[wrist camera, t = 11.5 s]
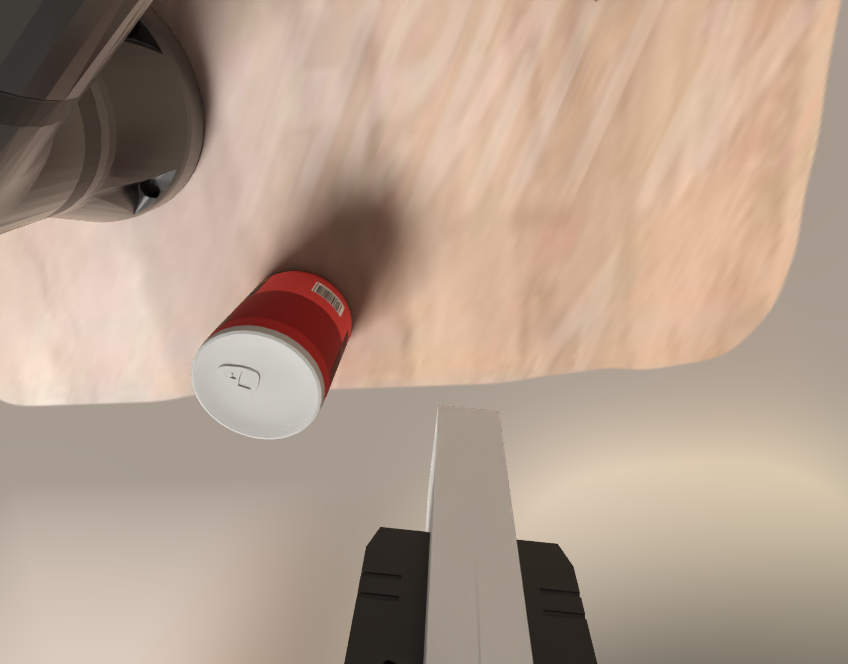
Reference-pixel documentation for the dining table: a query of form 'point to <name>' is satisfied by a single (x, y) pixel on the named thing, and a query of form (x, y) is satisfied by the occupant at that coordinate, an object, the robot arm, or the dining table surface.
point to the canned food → (274, 356)
